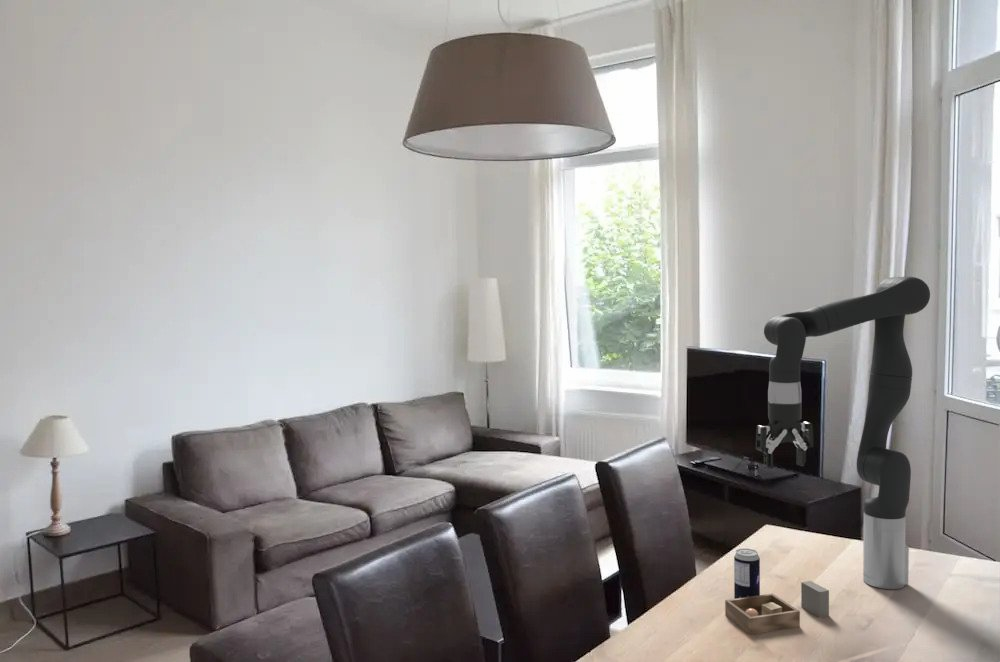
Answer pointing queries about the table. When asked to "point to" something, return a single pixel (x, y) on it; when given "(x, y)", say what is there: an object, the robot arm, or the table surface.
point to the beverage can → (746, 573)
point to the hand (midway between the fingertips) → (784, 466)
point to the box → (762, 622)
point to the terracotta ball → (752, 612)
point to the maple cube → (771, 608)
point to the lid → (815, 598)
